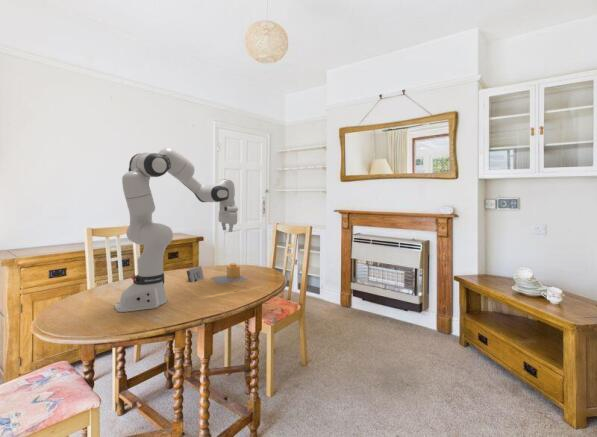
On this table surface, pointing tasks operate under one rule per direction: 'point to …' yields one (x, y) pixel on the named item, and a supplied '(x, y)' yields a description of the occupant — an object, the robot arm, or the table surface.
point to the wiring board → (227, 279)
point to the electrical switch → (195, 274)
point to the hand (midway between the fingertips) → (227, 231)
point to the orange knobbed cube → (233, 271)
